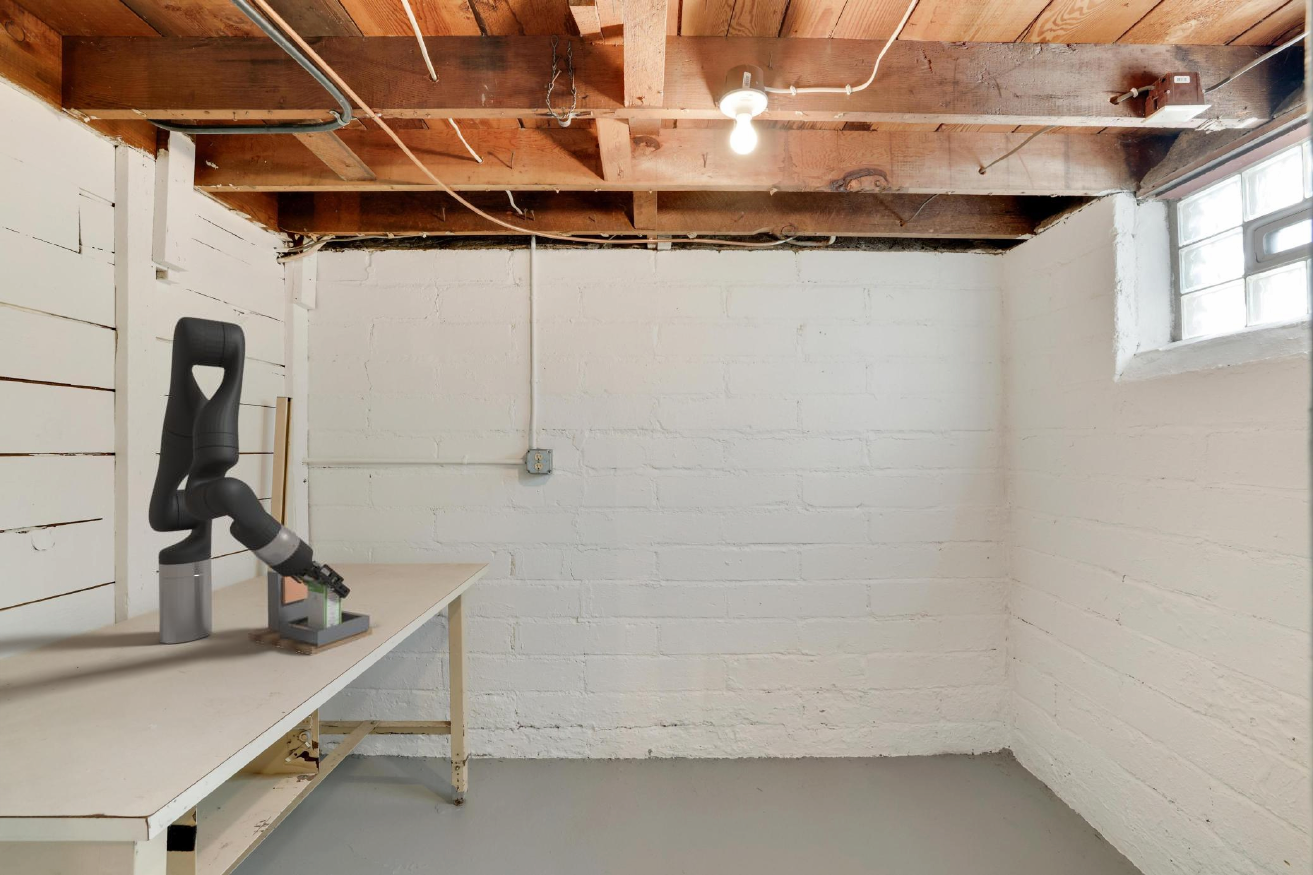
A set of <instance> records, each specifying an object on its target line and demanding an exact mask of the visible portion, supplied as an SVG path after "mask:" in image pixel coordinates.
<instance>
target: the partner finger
mask: <svg viewBox="0 0 1313 875" xmlns="http://www.w3.org/2000/svg"><path fill="white" fill-rule="evenodd" d="M304 616H308V586H305V585H304V584H303V583H301V584H300V583H297V582H296V581H295V580H294V579H292V578H291V577H283V576H281V575H279V574H278V573H277V572H275V571H274V570H273V569H271V570H267V618H268V619H267V623H268V624H267V625H268V626H267V628H268V629H272V630H276V631H280V623H283V622H287V621H290V620H294V619H297V618H301V617H304Z"/></svg>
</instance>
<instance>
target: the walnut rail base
mask: <svg viewBox="0 0 1313 875" xmlns="http://www.w3.org/2000/svg"><path fill="white" fill-rule="evenodd" d="M371 635H373V626H370V629H368V630H365V631H362V632H359V633H356V634H354V635H351V636H348V637H345V638H342V639H339V640H336V641H333V642H330V643H327V644H324V645H321V646H313V645H309V644H305V643H301V642H296V641H292V640H288V639H284V638H280V631H276V630H272V629H268V627H265V628H261V629H258V630H253V631H251V632H248V639H249V640H250V641H253V642H257V641H258V643H261V642H263V643H262V644H265V643H266V644H265V645H269V644H271V645H270V646H273V645H274V646H273V647H277V646H279V647H278V648H281V647H282V648H281V649H285V648H287V649H286V650H289V649H292V650H291V651H293V650H295V651H294V652H297V651H300V652H299V653H301V652H303V653H302V654H305V653H308V654H307V655H309V654H314V655H316V654H319V653H321V652H320V651H322V652H325V651H327V649H328V650H331V649H334V648H337V647H339V646H342V645H345V644H347V643H351V642H353V641H356V640H359V639H361V638H365V637H367V636H371ZM330 648H331V649H330ZM324 650H325V651H324ZM318 652H319V653H318ZM315 653H316V654H315Z"/></svg>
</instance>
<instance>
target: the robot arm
mask: <svg viewBox="0 0 1313 875" xmlns="http://www.w3.org/2000/svg"><path fill="white" fill-rule="evenodd" d="M245 356H246V337H245V333H244V330H243V328H242V327H241V326H240V325H239V324H237V323H232V322H228V321H227V322H226V321H222V320H221V321H220V320H216V319H207V318H200V317H192V316H183V317H181V318H179V319H178V321H176V325H175V327H174V330H173V338H172V350H171V368H170V383H169V392H168V397H167V403H166V407H165V408H166V409H165V414H164V418H163V423H162V431H161V440H160V448H159V449H160V450H159V460H158V467H157V472H156V477H155V481H154V485H153V489H152V493H151V496H150V501H149V506H148V524H149V525H150V528H151V529H152V530H153V531H155V532H156V533H157V532H158V533H172V532H181V531H183V532H184V531H189V530H191V532H190V533H189V534H188V536H186V537H185V538H184V539H182V540H181V541H179V542H176V543H174V544H172V545H169V546H166V547H164V548H162V549H161V550H160V551H159V552H158V608H159V609H158V615H159V618H158V620H159V626H158V627H159V629H158V630H159V642H160V643H162V644H179V643H185V642H191V641H195V640H199V639H202V638H205V637H208V636H209V635H211V634H212V633H213V595H212V594H213V593H212V592H213V591H212V590H213V589H212V588H213V584H212V582H213V581H212V580H213V578H212V577H213V576H212V530H213V527H212V526H213V520H215V519H219V518H222V517H226V516H228V517H230V518H231V520H232V522H231V524H230V526H229V534H230V535H231V536H232V537H233V538H234V539H235V540H236V541H237V542H239V543H240V544H241V545H243V546H244V548H247V549H248V550H249V551H250V552H252V554H253V555H254V556H255V557H256V558H257V559H258V560H260V561H261V562H262V563H264V565H266V566H267V567H269V568H270V569H271V570H274V571H275V572H277V573H278V574H279V575H281V576H283V577H291V578H292V579H294V580H295V581H296V582H297V583H300V584H301V583H303V584H304V585H305V586H308V581H311V582H313V583H315V584H317V585H318V586H325V587H327V588H329V589H330V590H332V591H333V592H334V593H336V594H337V595H338V596H339V597H341V599H346V598H347V597H348V596H349V594H350V592H351V589H350V588H349V587H347V585H345V584H344V583H343V582H344V581H345V579H344V578H343V576H341V574H339V573H338V572H337V571H335V569H333V568H332V567H330V566H329V565H328V564H326V563H324V564H323V565H322V564H321V563H320V562H318V561H316V560H313V555H314V549H313V548H312V547H311V546H310V545H308V544H307V542H305V541H304V540H303V539H302V538H301V537H299V535H297V534H296V533H295V532H293V531H292V530H291V529H290V528H288V527H286V526H285V525H283V524H282V523H280V521H278V520H277V519H276V518H274V516H272V515H271V514H270V513H268V512H267V511H266V510H265V508H264V505H263V504H262V503H261V501H260V500H259V498H258V497H257V495H256V494H255V492H254V491H253V489H252V487H250V486H249V485H248V484H247V483H246V482H244V481H243V480H241V479H239V478H236V477H232V476H226V474H227V472H228V471H229V470H231V469H232V468H234V467H235V466H236V465H237V464H238V462H239V459H240V446H239V445H240V442H239V441H240V440H239V415H240V407H241V406H240V405H241V404H240V403H241V397H242V389H243V382H244V381H243V380H244V371H245V370H244V368H245V358H246V357H245ZM194 366H201V367H211V368H221V369H223V376H222V380H221V382H220V385H219V386H218V387H217V390H216V391H215V392H214V394H213V395H212V396H211V397H210V398H209V399H208V398H207V396H206V395H205V394H204V392H203V391H202V390H201V388H200V386H199V384H198V382H197V380H196V378H195V376H194V373H193V367H194ZM185 479H186V483H185V486H184V489H183V488H182V489H178V488H179V487H180V485H181V484H182V482H183V481H184V480H185ZM320 578H321V579H322V581H318V580H319V579H320ZM332 581H333V582H332Z"/></svg>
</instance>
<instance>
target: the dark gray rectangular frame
mask: <svg viewBox="0 0 1313 875" xmlns="http://www.w3.org/2000/svg"><path fill="white" fill-rule="evenodd" d="M370 616H371V615H369V614H362V613H358V612H353V611H346V610H342V609H341V623H340V624H336V625H333V626H330V627H327V628H324V629H320V630H318V629H314V628H310V627H308V616H304V617H301V618H297V619H294V620H290V621H287V622H283V623H280V638H284V639H288V640H292V641H296V642H301V643H305V644H309V645H313V646H321V645H324V644H327V643H330V642H333V641H336V640H339V639H342V638H345V637H348V636H351V635H354V634H356V633H359V632H362V631H365V630H368V629H370V627H371V622H370V619H371V618H370Z"/></svg>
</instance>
